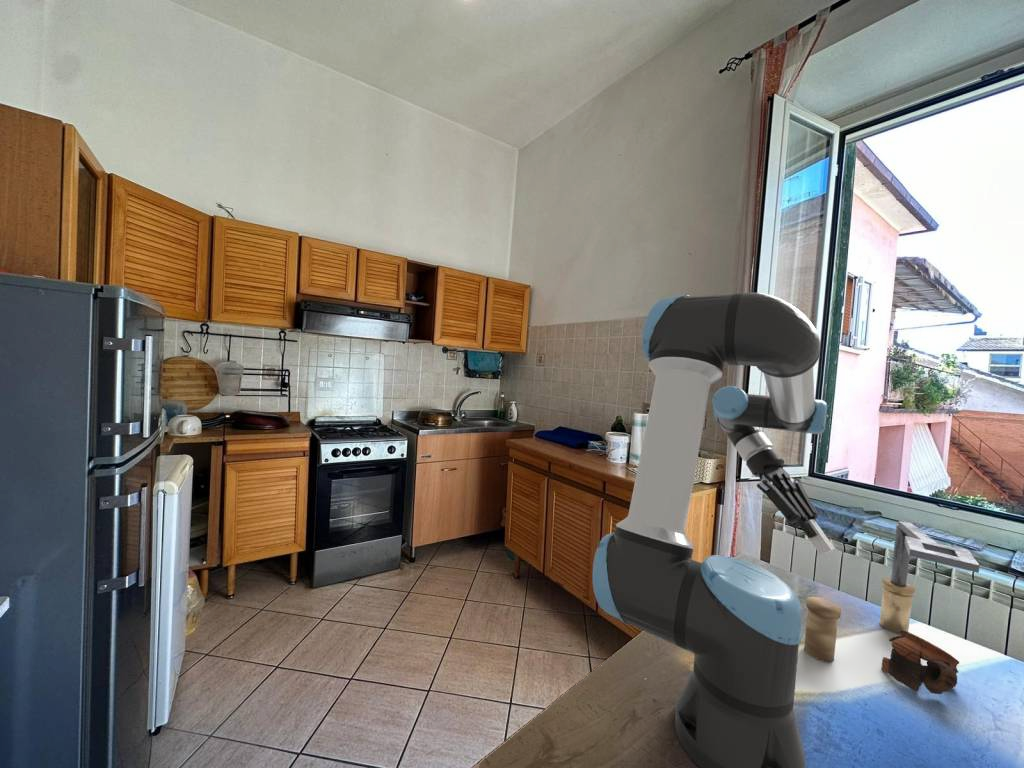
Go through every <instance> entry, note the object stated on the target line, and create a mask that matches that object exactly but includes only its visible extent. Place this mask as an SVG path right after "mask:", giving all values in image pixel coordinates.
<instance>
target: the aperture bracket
mask: <svg viewBox="0 0 1024 768" xmlns="http://www.w3.org/2000/svg"><path fill="white" fill-rule="evenodd" d="M895 527H896V528H895V534H894V535H895V536H894V545H893V554H892V564H891V571H890V572H891V575H890V578H888V577H884V578H882V579H881V588H882V594H881V595H882V596H881V604H880V605H881V608H880V615H879V625H880V626H881V627H882V628H883V627H884V628H883V629H886V630H887V631H889V632H892V633H894V632H895V633H894V634H897V635H901V632H900V631H902V630H904V631H907V632H909V628H910V621H911V620H910V619H911V610H912V601H913V597H915V594H916V593H915V592H916V588H915V587H914V586H912V585H911V584H909V583H908V576H909V575H908V574H909V564H910V557H913V558H916V559H921V560H925V561H929V562H932V563H935V564H936V563H937V564H941V565H945V566H948V567H954V568H957V569H961V570H966V571H970V572H974V573H978V574H979V572H980V564H979V562H977V560H976V559H975V557H974V556H973V554H972V553H971V552H970V550H969V549H964V548H960V547H955V546H950V545H946V544H942V543H937V541H935V540H934V539H932V538H931V537H930V536H928V535H927V534H926V533H925V532H923V531H922V530H921V529H920V528H918V527H917V526H916V525H915V524H913V523H912V522H907V521H901V520H898V524H897V525H896V526H895Z"/></svg>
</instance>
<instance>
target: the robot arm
mask: <svg viewBox="0 0 1024 768" xmlns="http://www.w3.org/2000/svg"><path fill="white" fill-rule="evenodd" d="M641 339H642V342H641V350H642V354H643V356H644V358H645V359H646V360H647V361H649V363H648V368H649V369H650V371H651V372H652V373H653V375H654V376H655V379H654V380H655V381H654V384H653V385H654V386H653V390H652V396H651V401H650V404H649V411H648V415H647V420H646V424H645V430H644V434H643V440H642V446H641V450H640V456H639V461H638V466H637V470H636V475H635V480H634V485H633V489H632V490H633V491H632V495H631V500H630V504H629V510H628V514H627V517H625V518H624V519H622V520H620V521H619V522H617V523H616V525H615V529H614V532H612V533H607V534H605V535H604V536H603V537H602V538H601V539H600V542H599V545H598V546H599V547H596V551H595V553H594V559H593V565H592V588H593V594H594V596H595V600H596V602H597V605H598V606H599V607H600V608H601V610H602V611H604V612H605V613H606V614H608V615H610V616H611V617H614V618H616V619H617V620H620V621H621V622H622V624H625V625H626V626H633V627H634V628H637V629H638V630H641V631H644V632H646V633H647V634H649V635H653V636H655V637H657V638H659V639H661V640H663V641H665V642H668V643H670V644H672V645H674V646H676V647H680V648H681V649H683V650H686V651H688V652H690V653H692V654H694V655H693V656H694V660H693V668H692V672H691V673H690V675H689V677H688V679H687V681H686V683H685V685H684V687H683V689H682V690H681V693H680V695H679V697H678V699H677V701H676V705H675V716H674V727H675V732H676V733H675V734H676V736H677V739H678V741H679V743H680V745H681V746H682V748H683V750H684V751H685V753H686V754H687V755H688V757H689V758H690V759H691V760H692V762H693V763H694V764H695V765H696V766H697V767H698V768H806V756H805V752H804V748H803V743H802V740H801V735H800V730H799V729H798V724H797V719H796V716H795V712H794V703H795V696H796V694H795V692H796V682H797V671H798V670H797V669H798V659H799V646H800V643H801V641H802V638H803V630H802V605H801V601H800V599H799V598H798V596H797V594H796V592H795V591H794V590H793V589H792V588H791V586H790V585H789V584H787V583H786V582H784V581H783V580H782V579H781V578H780V577H779V576H777V575H776V574H774V573H772V572H771V571H769V570H768V569H766V568H763V567H761V566H759V565H757V564H755V563H753V562H750V561H747V560H744V559H741V558H738V557H734V556H731V555H729V556H728V557H727V556H725V555H723V554H711V555H708V556H707V557H705V558H704V560H702V562H700V561H696V560H693V554H694V544H693V543H692V541H691V540H690V539H689V537H688V536H687V533H686V529H687V523H688V516H689V512H690V511H689V510H690V504H691V501H692V500H691V498H692V494H693V492H692V491H693V487H694V481H695V476H696V475H695V474H696V470H697V463H698V458H699V454H700V453H699V451H700V446H701V441H702V435H703V429H704V428H703V427H704V423H705V418H706V411H707V405H708V400H709V394H710V388H711V387H710V386H711V385H712V384H714V383H715V382H717V381H719V380H720V379H722V376H723V372H724V366H747V367H756V368H757V369H758V371H760V372H761V373H763V376H764V377H763V378H764V380H765V384H766V388H767V392H768V394H769V395H765V394H764V395H763V394H754V393H753V394H752V393H751V394H750V393H749V394H748V393H746V392H745V391H744V390H743V389H741V388H739V387H738V386H735V385H727V386H723V387H721V388H719V389H718V390H717V391H715V393H714V394H713V396H712V398H711V399H712V403H711V404H712V408H713V417H714V418H715V420H716V422H717V425H718V426H719V427H720V428H721V429H722V431H723V432H724V434H725V436H726V437H727V438H728V440H729V441H730V442H731V444H732V445H733V447H734V448H735V450H736V451H737V453H738V454H739V456H740V457H741V459H742V460H743V462H744V463H745V465H746V467H747V468H748V469H749V471H750V472H751V474H752V475H753V476H754V477H755V478H757V477H758V478H759V480H760V482H758V483H757V484H756V487H757V488H758V489H759V490H760V491H761V492H762V493H764V494H765V496H767V498H768V499H769V500H770V501H771V502H772V503H773V504H774V506H775V507H776V508H777V510H778V511H780V513H781V514H782V515H783V517H784V518H785V519H786V520H787V522H789V523H792V526H793V527H797V526H799V527H800V528H801V530H802V531H803V533H805V535H806V537H807V538H808V539H809V541H810V542H811V544H812V545H813V547H814V548H815V549H816V551H817V553H818V554H819V556H821V555H826V554H827V553H830V552H832V551H835V550H836V548H835V546H834V545H833V544H832V543H831V541H830V539H829V538H828V537H827V536H826V534H825V533H824V531H823V529H822V528H821V527H820V526H819V524H818V523H817V521H816V519H819V513H818V511H817V510H816V508H815V506H814V505H813V503H812V501H811V499H810V497H809V495H808V493H807V492H806V491H805V489H804V487H803V484H802V481H801V479H800V478H799V477H795V479H794V478H793V477H791V476H790V474H789V472H787V471H786V470H785V469H784V465H785V460H784V459H783V457H782V455H781V454H780V453H779V452H778V450H777V449H774V448H775V446H774V445H773V443H772V442H771V441H770V439H769V438H768V437H767V436H766V434H765V433H764V432H763V430H762V429H771V430H778V431H784V432H785V431H786V432H793V433H798V434H799V433H800V434H804V435H805V434H811V435H812V434H813V435H822V434H823V433H824V432H825V429H826V423H827V421H826V420H827V412H828V404H827V402H826V401H824V400H822V399H815V383H814V382H815V381H814V367H815V365H816V364H817V363H818V361H819V358H820V355H821V340H820V336H819V333H818V331H817V329H816V327H815V326H814V325H813V322H811V320H809V318H808V317H807V316H806V315H805V314H804V313H803V312H802V311H801V310H799V308H796V307H795V306H793V305H792V304H791V303H789V302H787V301H785V300H783V299H781V298H779V297H776V296H774V295H770V294H767V293H761V292H743V293H741V292H739V293H720V294H700V295H699V294H698V295H688V294H681V295H678V296H672V297H671V296H669V297H664V298H662V299H659V300H658V301H657V302H655V303H654V304H653V305H652V307H651V309H649V312H648V313H647V315H646V317H645V320H644V324H643V327H642V332H641Z"/></svg>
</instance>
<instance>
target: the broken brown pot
mask: <svg viewBox="0 0 1024 768" xmlns="http://www.w3.org/2000/svg"><path fill="white" fill-rule="evenodd" d="M900 632H901V634H899V635H896V636H893V637H891V638H889V640H888V641H889V642H891V647H892V649H891V651H890V653H891V654H890V658H888V657H887V656H883V657H882V661H881V668H880V669H881V670H882V671H883V672H884V673H886V674H888V675H889V676H891V677H893V678H894V679H895V680H896V681H897V682H899V683H901V685H904V686H906V687H907V688H909V690H910V689H911V690H912V691H914V692H915V693H918V692H919V690H920V688H921V686H922V685H924V686H925V688H926V690H928V692H929V693H931V694H934V695H941V694H943V693H945V692H950V691H951V690H953V689H954V688H955V687H956V686H957V684H958V675H957V674H958V673H959V670H958V667H957V666H958V665H959V664H960V660H958V659H957V658H955V657H954V656H952V654H950V653H949V652H947V651H945V650H943V649H942V648H940V647H938V646H937V645H935V644H933V643H931V642H929V641H928V640H925V639H924V638H921V637H920V636H918V635H916V634H914V633H912V632H909V631H908V632H907V631H904V630H902V631H900ZM922 660H923V661H926V665H923V664H922Z"/></svg>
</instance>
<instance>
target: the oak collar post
mask: <svg viewBox="0 0 1024 768" xmlns="http://www.w3.org/2000/svg"><path fill="white" fill-rule="evenodd" d="M805 607H806V608H807V615H806V626H805V638H804V647H803V649H804V652H805V653H806V654H807V655H808V656H811V657H812V658H814V659H816V660H818V661H821V662H824V663H832V662H833V661H835V652H836V651H835V650H836V642H837V641H836V640H837V632H838V621H839V619H841V615H842V609H841V607H840V606H839V605H837V604H836V603H835V602H833V601H831V600H828V599H826V598H822V597H819V596H809V597H807V598H806V606H805Z"/></svg>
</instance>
